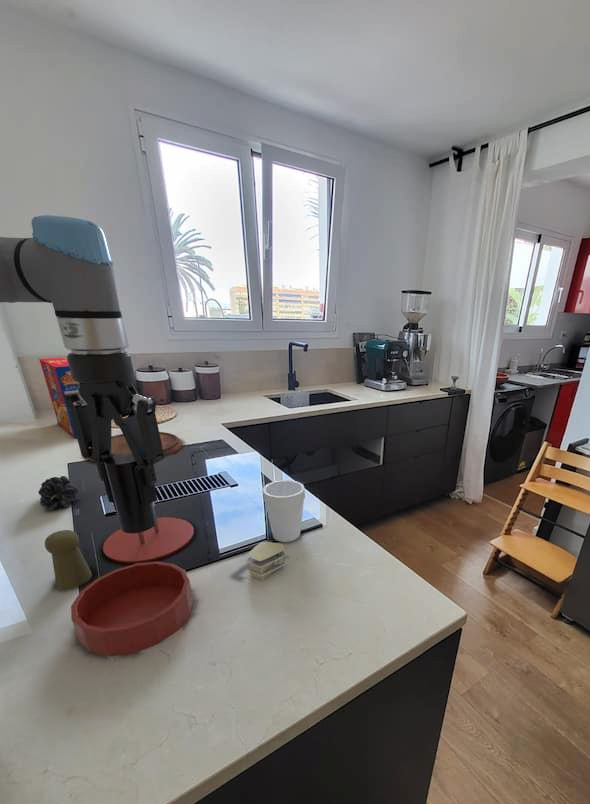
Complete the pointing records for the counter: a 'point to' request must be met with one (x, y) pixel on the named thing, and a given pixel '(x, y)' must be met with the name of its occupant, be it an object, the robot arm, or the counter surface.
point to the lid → (149, 541)
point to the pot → (132, 608)
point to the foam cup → (284, 508)
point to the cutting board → (120, 446)
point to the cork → (67, 559)
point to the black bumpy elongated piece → (57, 493)
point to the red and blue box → (60, 389)
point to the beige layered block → (265, 559)
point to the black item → (128, 494)
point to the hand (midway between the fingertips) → (133, 500)
